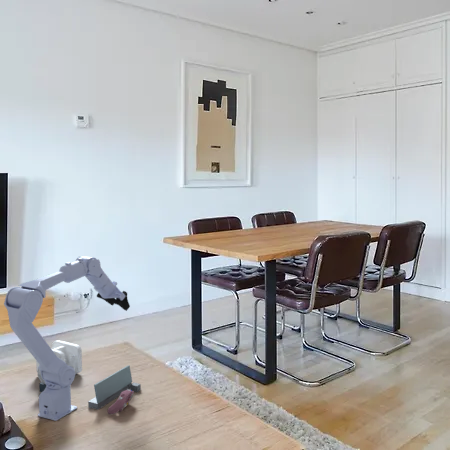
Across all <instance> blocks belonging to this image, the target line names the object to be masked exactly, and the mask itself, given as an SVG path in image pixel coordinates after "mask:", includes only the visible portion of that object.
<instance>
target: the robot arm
mask: <svg viewBox="0 0 450 450" xmlns="http://www.w3.org/2000/svg"><path fill="white" fill-rule="evenodd" d="M83 277H85V278H86V279H87V280H88V282H89V283H90V284H91V285H92V286H93V289H94V290H95V292H97V294H96V298H98V299H101V300H103V301H105V302H107V304H109V305H111V306H114V305H117V306H119V307H120V308H121V309H122V310H124V311H126V312H127V311H128V310H129V308H130V307H131V305H130V303H129V299H128V292H127V291H125V290H123V291H121V290H120V289H119V288H118V287H117V285H118V282H117V281H114V280H113V281H112V280H111V279H110V278H109V275H108V274H106V273H105V271H104V270H103V268H102V267H101V262H100V259H97V258H96V257H94V256H93V257H92V256H91V257H90V256H83V255H82V256H78V257H77V258H76V259H75V260H74V261H72V262H70V261H67V262H65V263H64V265H61V266H60V268H59V270H58V271H57V272H53V273H51V274H48V275H45V276H41V277H39V278H35V279H32V280H29V281H26V282H22V283H20V284H19V285H18V286H14V287H13V286H12V288H10V289H8V291H7V293H6V295H5V299H4V302H3V305H4V307H5V308H6V310H7V316H8V322H9V327H10V328H11V331H13V332H14V334H15V335H16V337H17V338H18V339H19V341H20V342H21V343H22V344H23V345H24V346H25V348H26V349H27V351H28V352H29V353H30V354H31V355H32V357H33V358H34V359H35V361H36V360H37V362H38V363H39V364H40V365H39V367H38V369H39V370H40V372H41V377H42V379H43V380H45V384H46V388H45V390H44V391H43V392H39V393H40V394H39V395H38V409H39V410H38V411H39V412H38V414H37V416H38V417H40V418H43V419H47V420H48V419H49V420H52V421H59V420H60V419H62V418H63V417H65V416H67V415H69V414H70V413H72V412H73V411H75V410H76V409H78V406H76V405H72V393H71V385H72V383H73V382H74V380H75V378H76V374H75V370H74V368H73V367H71V366H68V365H67V364H66V363H65V362H64V361H63V360H61V359H60V358H58V357H57V356H56V355H55V353H54V352H53V351H52V347H50V345H49V344H48V343H47V341H46V340H45V339H44V337H43V336H42V334H41V333H40V332H39V331H38V329H37V328H36V326H35V325H34V324H33V322H34V321H35V319H36V317H37V315H38V313H39V311H40V309H41V307H42V305H43V302H44V301H43V300H44V299H46V296H47V293H46V292H47V290H49V289H51V288H52V287H55V286H57V285H58V284H61V283H63V282H64V283H66V284H69V283H72V282H74V281H77V280H79V279H81V278H83Z"/></svg>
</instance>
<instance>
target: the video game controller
mask: <svg viewBox="0 0 450 450" xmlns="http://www.w3.org/2000/svg"><path fill="white" fill-rule="evenodd" d="M134 394H135V392H134V391H132V390H130V389H127V390H125V391H123V392H122V393H121V394H120V396H119V397H117V398H116V401H115V402H114V403H112V405H110V406H109V407H108V408H107V414H108V415H114V414H116V413H118V412H123V409H124V408H126V407H127V406H128V405H129V402H130V400H131V399H132V398H133V395H134Z"/></svg>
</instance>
